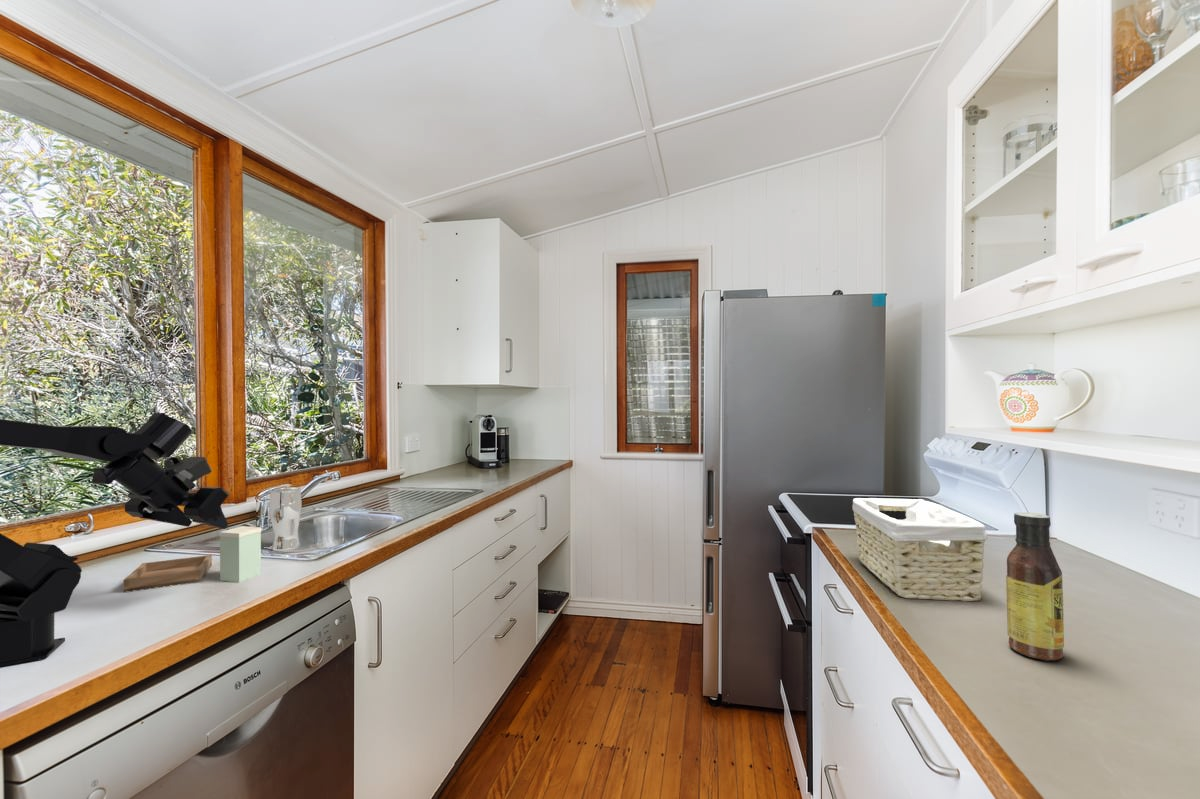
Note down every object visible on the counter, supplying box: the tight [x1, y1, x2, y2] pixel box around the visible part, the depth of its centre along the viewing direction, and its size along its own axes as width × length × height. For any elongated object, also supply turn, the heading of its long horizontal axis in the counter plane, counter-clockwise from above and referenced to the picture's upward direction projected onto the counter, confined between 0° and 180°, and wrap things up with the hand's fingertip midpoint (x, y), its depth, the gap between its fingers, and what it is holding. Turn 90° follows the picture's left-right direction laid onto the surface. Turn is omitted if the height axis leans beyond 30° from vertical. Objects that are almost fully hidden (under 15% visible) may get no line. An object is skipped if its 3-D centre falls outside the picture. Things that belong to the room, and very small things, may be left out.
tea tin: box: [218, 525, 263, 583], centre depth 107 cm, size 5×5×10 cm
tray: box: [122, 554, 213, 593], centre depth 107 cm, size 12×12×2 cm
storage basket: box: [851, 497, 989, 602], centre depth 103 cm, size 24×16×15 cm
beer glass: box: [269, 486, 303, 552], centre depth 129 cm, size 7×7×15 cm
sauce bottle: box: [1005, 512, 1065, 661], centre depth 73 cm, size 6×6×20 cm
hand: (207, 525), depth 100 cm, fingers open, 9 cm apart
